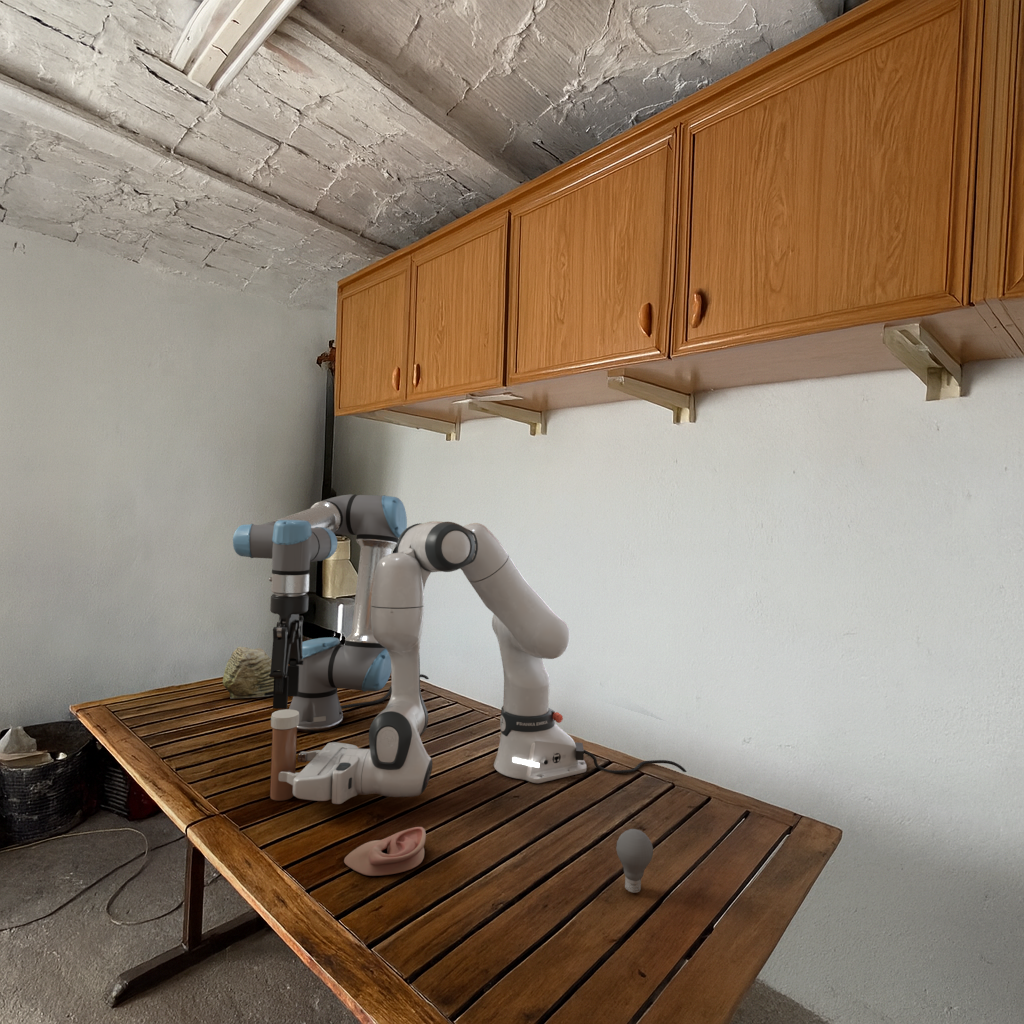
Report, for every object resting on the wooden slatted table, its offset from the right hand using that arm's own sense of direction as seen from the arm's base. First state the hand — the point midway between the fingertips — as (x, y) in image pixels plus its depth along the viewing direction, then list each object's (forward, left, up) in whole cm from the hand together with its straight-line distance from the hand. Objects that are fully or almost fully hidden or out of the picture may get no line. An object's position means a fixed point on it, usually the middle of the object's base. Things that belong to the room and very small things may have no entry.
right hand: (289, 765), depth 133 cm
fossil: (+9, -72, -7) cm, 73 cm away
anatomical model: (-16, +29, -7) cm, 33 cm away
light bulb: (-53, +50, -7) cm, 73 cm away
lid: (+1, -1, +10) cm, 11 cm away
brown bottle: (+1, -1, -7) cm, 7 cm away
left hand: (+1, -1, +13) cm, 13 cm away
